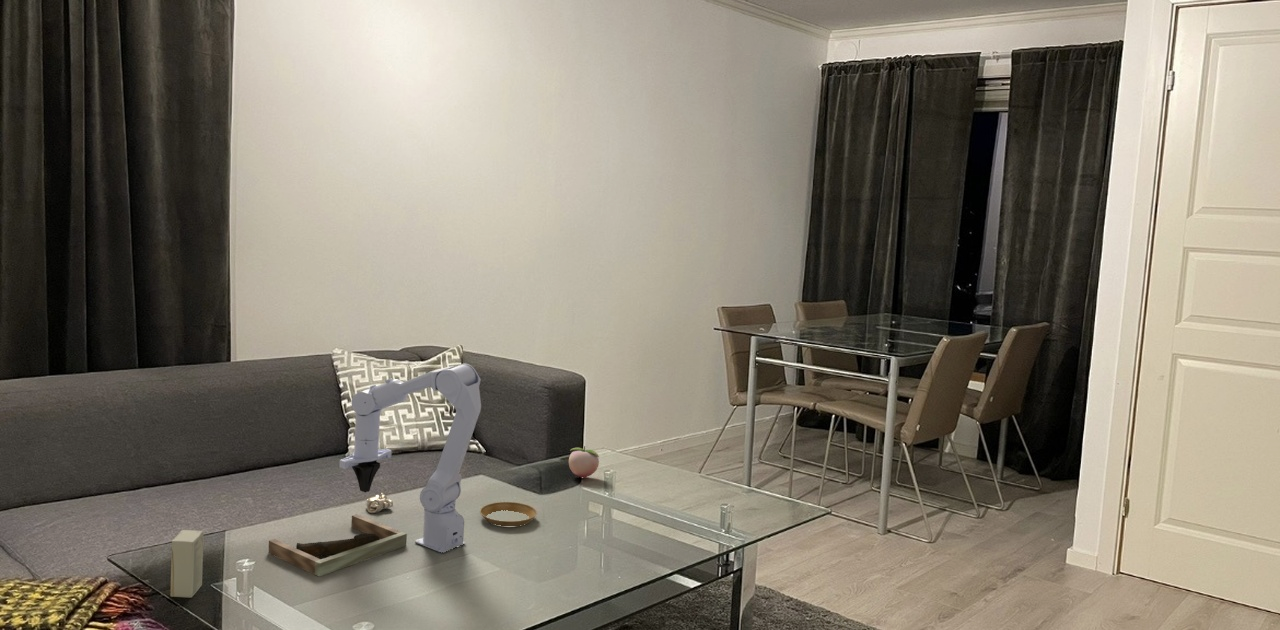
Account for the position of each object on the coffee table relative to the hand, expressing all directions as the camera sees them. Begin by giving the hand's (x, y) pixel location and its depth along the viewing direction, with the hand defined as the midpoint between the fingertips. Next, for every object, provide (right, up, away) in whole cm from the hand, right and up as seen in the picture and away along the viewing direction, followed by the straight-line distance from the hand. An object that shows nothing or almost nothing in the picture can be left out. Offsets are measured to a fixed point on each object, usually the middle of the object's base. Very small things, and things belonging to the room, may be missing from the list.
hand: (364, 490), depth 244 cm
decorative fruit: (+51, -6, +53) cm, 74 cm away
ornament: (0, -8, +15) cm, 17 cm away
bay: (-2, -11, -13) cm, 18 cm away
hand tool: (-2, -12, -16) cm, 20 cm away
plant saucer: (+33, -11, +15) cm, 38 cm away
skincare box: (-25, -14, -40) cm, 50 cm away
